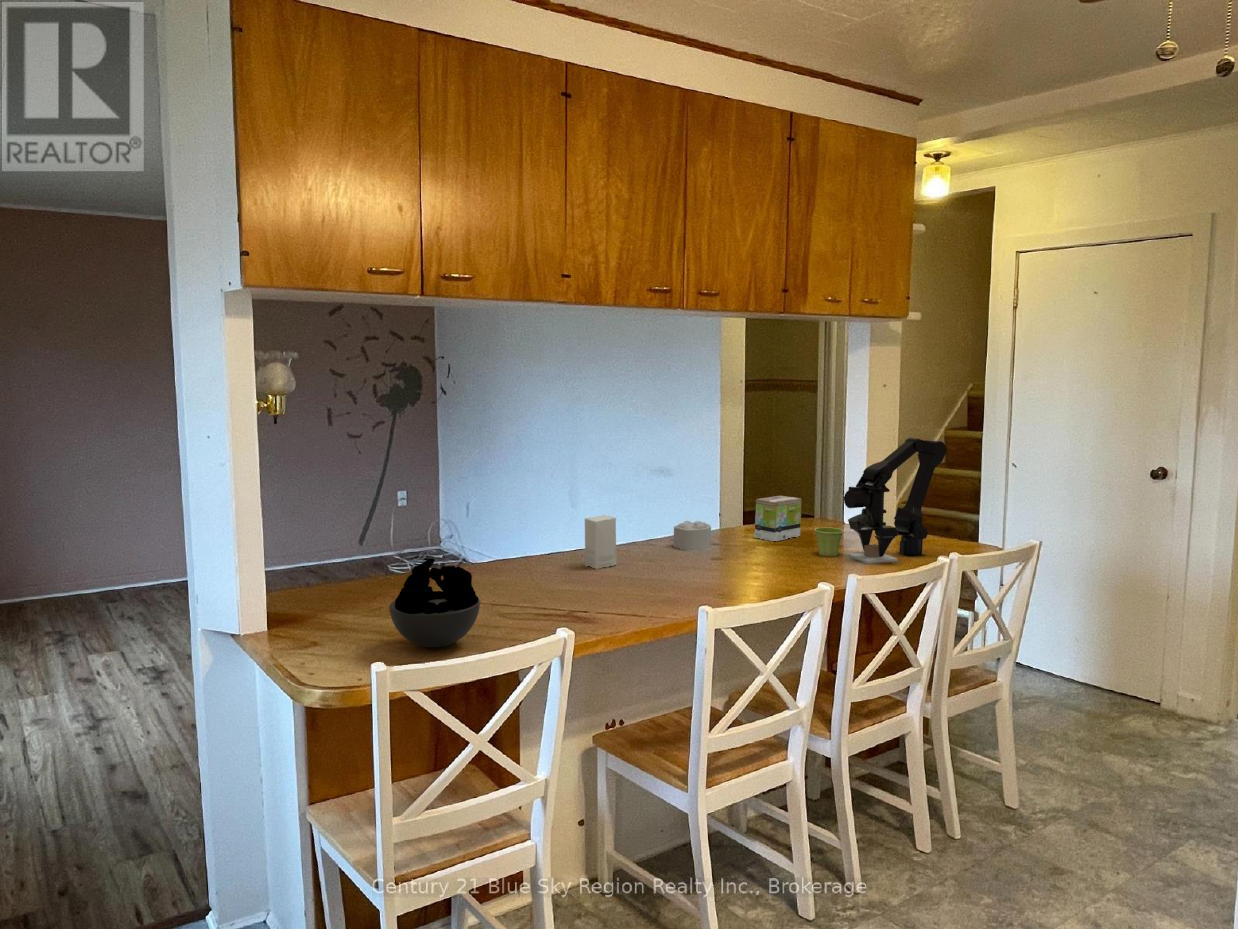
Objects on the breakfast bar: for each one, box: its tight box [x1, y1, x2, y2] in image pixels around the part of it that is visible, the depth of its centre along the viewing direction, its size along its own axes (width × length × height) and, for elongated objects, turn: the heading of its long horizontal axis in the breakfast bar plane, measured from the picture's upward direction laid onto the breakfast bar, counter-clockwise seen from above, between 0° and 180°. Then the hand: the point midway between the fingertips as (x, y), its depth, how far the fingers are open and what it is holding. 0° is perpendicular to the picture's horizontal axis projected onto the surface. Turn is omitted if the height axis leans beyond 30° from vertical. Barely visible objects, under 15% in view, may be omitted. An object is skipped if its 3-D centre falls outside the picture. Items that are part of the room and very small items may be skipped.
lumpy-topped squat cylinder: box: [673, 520, 712, 551], centre depth 307 cm, size 10×13×9 cm
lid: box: [848, 544, 898, 564], centre depth 285 cm, size 11×11×4 cm
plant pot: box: [814, 526, 844, 557], centre depth 292 cm, size 9×9×9 cm
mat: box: [845, 554, 903, 565], centre depth 285 cm, size 13×13×1 cm
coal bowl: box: [388, 557, 481, 648], centre depth 198 cm, size 20×20×19 cm
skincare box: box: [584, 514, 617, 569], centre depth 277 cm, size 8×7×16 cm
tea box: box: [754, 495, 802, 542], centre depth 322 cm, size 15×10×15 cm
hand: (873, 553), depth 285 cm, fingers open, 9 cm apart
